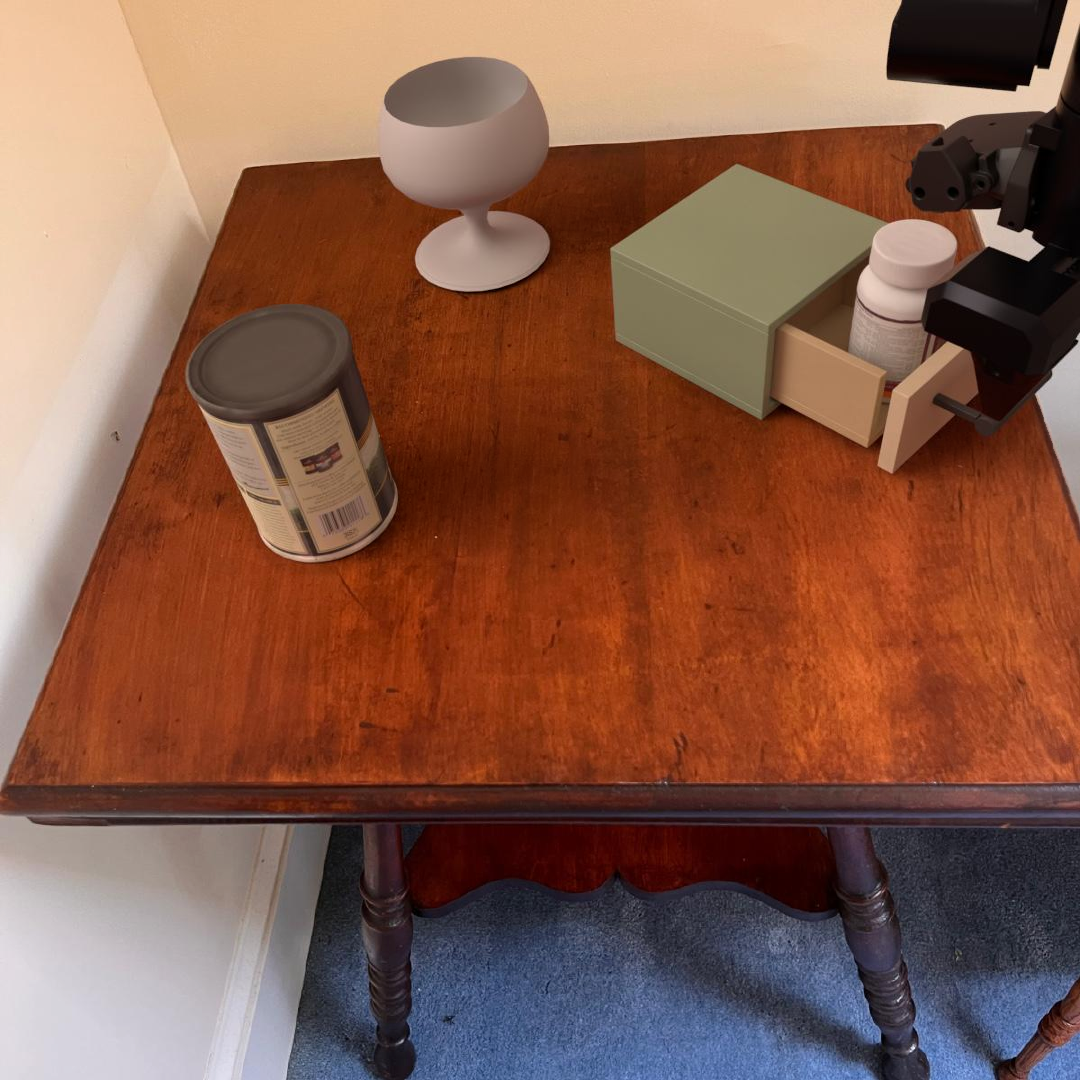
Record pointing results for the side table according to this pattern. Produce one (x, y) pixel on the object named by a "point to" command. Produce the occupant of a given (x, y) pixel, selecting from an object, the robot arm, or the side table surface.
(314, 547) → the coffee can
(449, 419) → the side table surface
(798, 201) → the cabinet
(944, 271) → the pill bottle
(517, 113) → the chalice
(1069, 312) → the robot arm
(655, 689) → the side table surface
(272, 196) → the side table surface
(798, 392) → the drawer
